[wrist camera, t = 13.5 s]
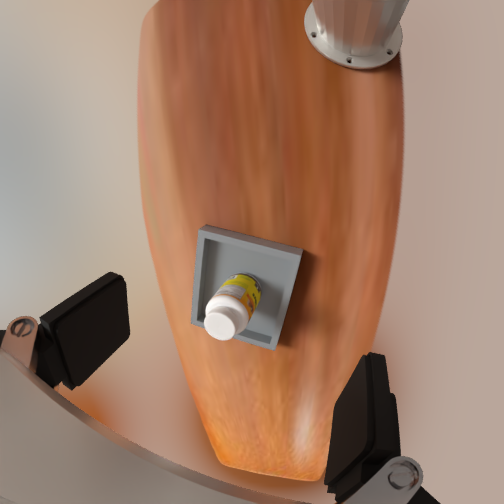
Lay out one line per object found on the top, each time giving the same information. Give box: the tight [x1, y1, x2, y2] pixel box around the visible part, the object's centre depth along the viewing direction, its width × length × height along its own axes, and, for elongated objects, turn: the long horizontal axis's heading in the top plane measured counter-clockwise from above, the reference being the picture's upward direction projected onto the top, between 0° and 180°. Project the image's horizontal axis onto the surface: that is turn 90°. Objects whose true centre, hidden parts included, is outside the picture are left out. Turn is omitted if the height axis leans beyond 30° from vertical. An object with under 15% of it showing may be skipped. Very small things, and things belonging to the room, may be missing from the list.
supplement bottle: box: [204, 273, 262, 340], centre depth 37 cm, size 6×6×10 cm
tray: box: [191, 225, 303, 351], centre depth 41 cm, size 16×14×2 cm
